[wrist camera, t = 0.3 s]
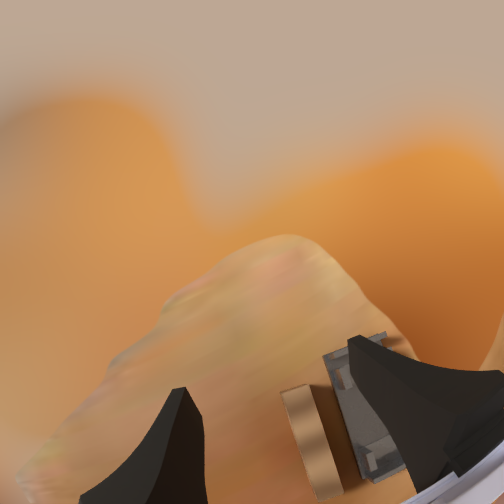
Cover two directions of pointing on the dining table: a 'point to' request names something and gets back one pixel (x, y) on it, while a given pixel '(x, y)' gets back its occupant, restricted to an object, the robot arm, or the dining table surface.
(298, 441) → the rail
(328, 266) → the dining table surface
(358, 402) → the bracket board
